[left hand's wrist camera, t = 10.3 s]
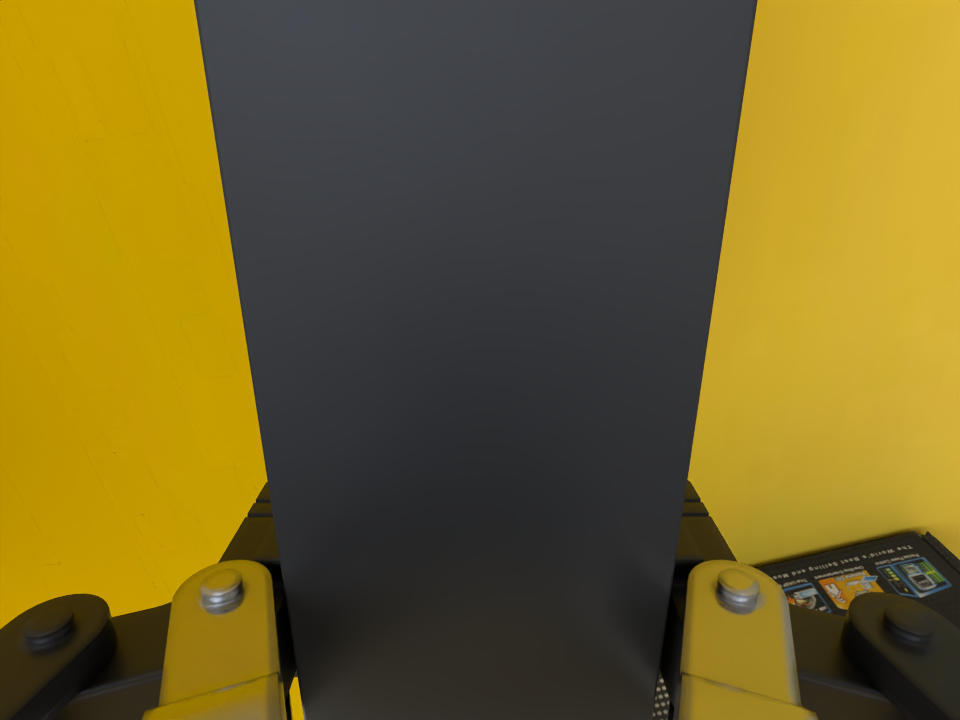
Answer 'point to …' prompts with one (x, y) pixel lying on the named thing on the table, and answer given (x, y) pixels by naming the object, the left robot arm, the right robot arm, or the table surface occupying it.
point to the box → (865, 580)
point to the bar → (476, 331)
